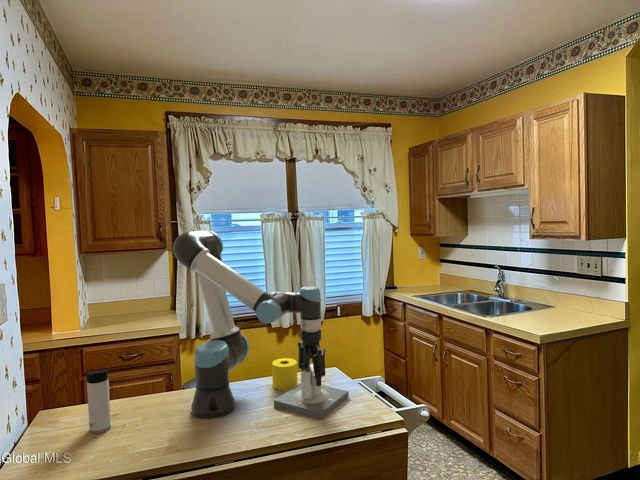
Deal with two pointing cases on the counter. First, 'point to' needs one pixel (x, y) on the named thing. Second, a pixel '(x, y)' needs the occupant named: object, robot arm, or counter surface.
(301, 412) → the dial plate
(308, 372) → the dial handle
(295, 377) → the yellow toilet paper roll
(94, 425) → the travel mug
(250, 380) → the counter surface
